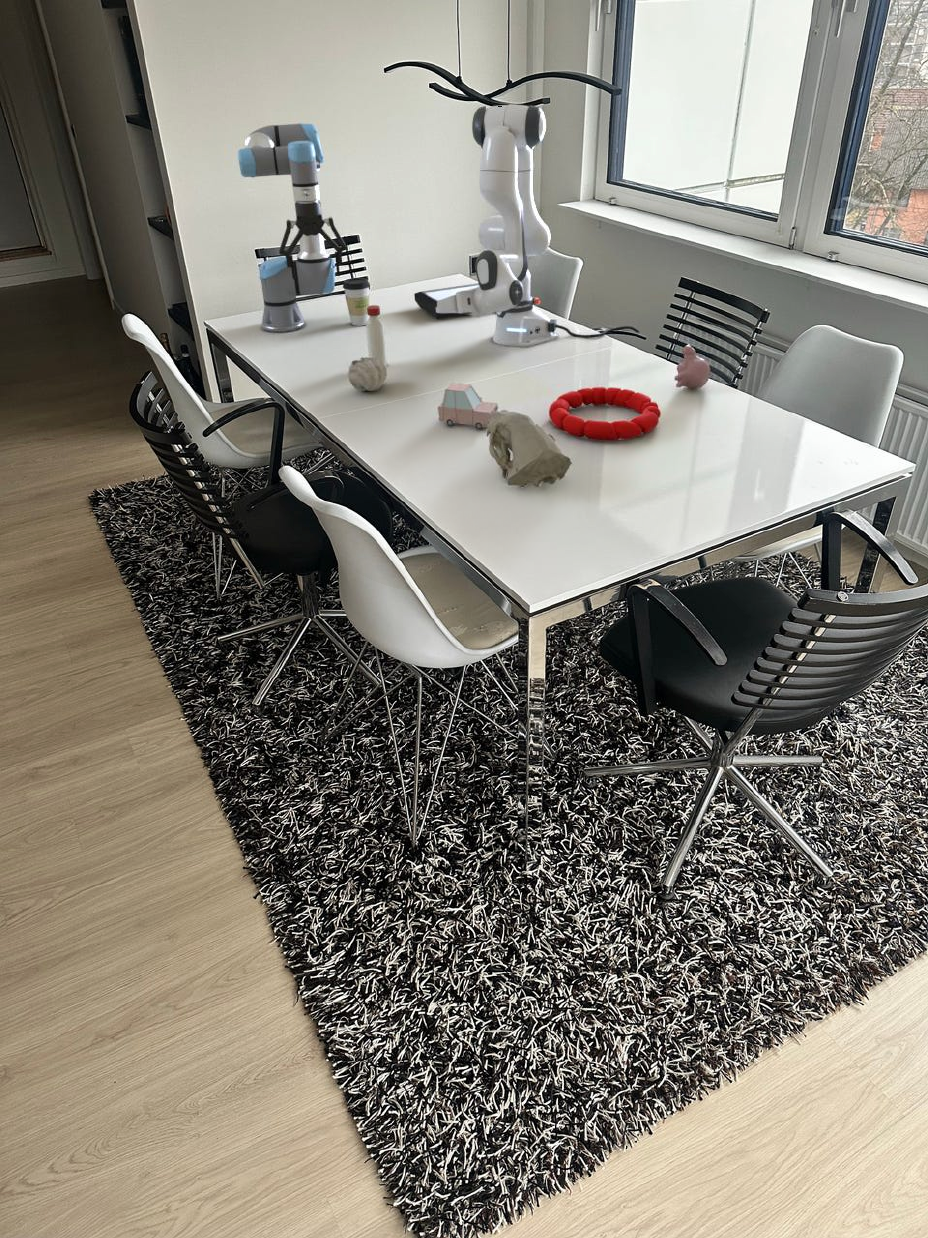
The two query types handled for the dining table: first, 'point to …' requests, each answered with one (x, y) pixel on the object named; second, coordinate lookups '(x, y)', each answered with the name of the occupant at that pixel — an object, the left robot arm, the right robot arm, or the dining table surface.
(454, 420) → the toy car
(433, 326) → the dining table surface
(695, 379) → the figurine
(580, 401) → the decorative ring
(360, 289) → the coffee cup
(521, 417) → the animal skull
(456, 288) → the electronic device
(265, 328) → the left robot arm
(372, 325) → the bottle
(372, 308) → the cap
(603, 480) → the dining table surface
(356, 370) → the seashell
